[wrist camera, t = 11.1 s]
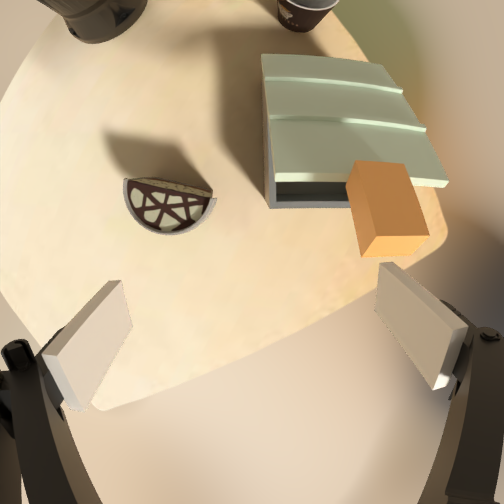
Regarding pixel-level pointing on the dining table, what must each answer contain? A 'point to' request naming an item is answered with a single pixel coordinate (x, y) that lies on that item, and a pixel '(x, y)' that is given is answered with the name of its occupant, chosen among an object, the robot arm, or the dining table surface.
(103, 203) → the dining table surface
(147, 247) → the dining table surface
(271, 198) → the parts tub
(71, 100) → the dining table surface
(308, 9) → the coffee mug
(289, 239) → the dining table surface
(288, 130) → the lid
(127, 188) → the food container
